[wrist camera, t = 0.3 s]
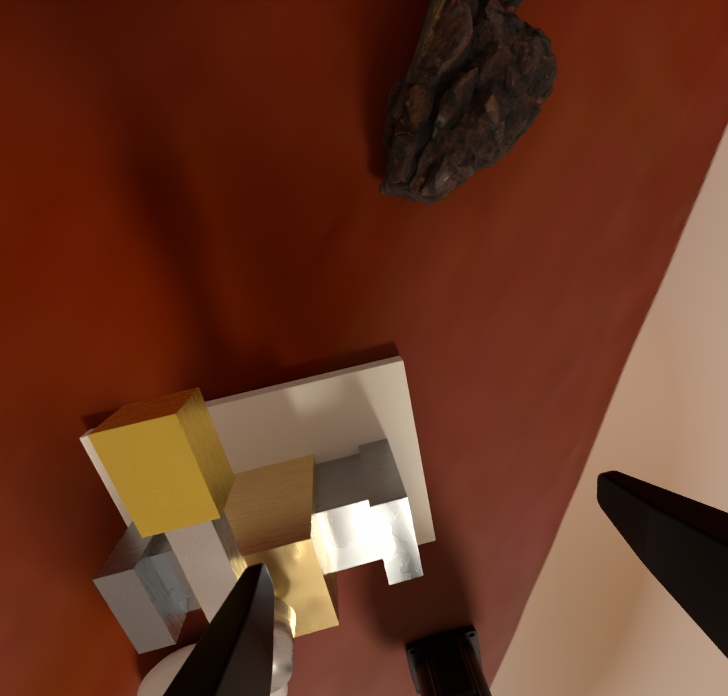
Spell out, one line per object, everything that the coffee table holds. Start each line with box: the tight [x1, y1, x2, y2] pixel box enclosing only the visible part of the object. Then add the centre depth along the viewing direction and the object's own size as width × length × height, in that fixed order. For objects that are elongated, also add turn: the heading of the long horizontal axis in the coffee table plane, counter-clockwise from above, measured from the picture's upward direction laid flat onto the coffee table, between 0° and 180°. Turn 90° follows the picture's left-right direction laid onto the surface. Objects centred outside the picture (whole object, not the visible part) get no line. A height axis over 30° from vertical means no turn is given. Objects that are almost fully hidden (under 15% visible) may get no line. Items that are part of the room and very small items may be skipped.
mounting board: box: [80, 356, 436, 545], centre depth 24 cm, size 15×20×1 cm
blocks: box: [93, 439, 423, 654], centre depth 20 cm, size 6×16×7 cm, turn 102°
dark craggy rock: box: [379, 0, 557, 205], centre depth 15 cm, size 18×7×6 cm, turn 161°
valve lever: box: [87, 387, 296, 694], centre depth 13 cm, size 14×3×3 cm, turn 12°
